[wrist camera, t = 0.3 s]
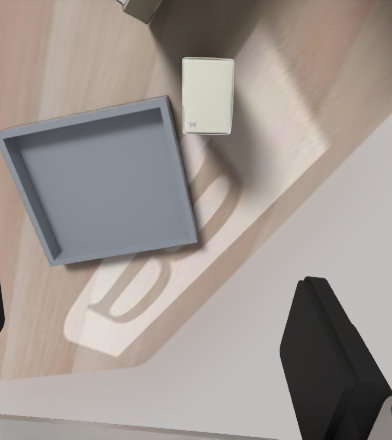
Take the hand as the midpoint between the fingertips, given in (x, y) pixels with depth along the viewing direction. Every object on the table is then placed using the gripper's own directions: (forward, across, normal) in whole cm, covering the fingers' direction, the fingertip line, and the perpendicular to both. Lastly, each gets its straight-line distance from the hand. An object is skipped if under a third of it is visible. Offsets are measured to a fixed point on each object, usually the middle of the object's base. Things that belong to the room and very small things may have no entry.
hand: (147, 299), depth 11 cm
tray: (+34, +9, +9) cm, 37 cm away
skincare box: (+34, -2, -4) cm, 35 cm away
